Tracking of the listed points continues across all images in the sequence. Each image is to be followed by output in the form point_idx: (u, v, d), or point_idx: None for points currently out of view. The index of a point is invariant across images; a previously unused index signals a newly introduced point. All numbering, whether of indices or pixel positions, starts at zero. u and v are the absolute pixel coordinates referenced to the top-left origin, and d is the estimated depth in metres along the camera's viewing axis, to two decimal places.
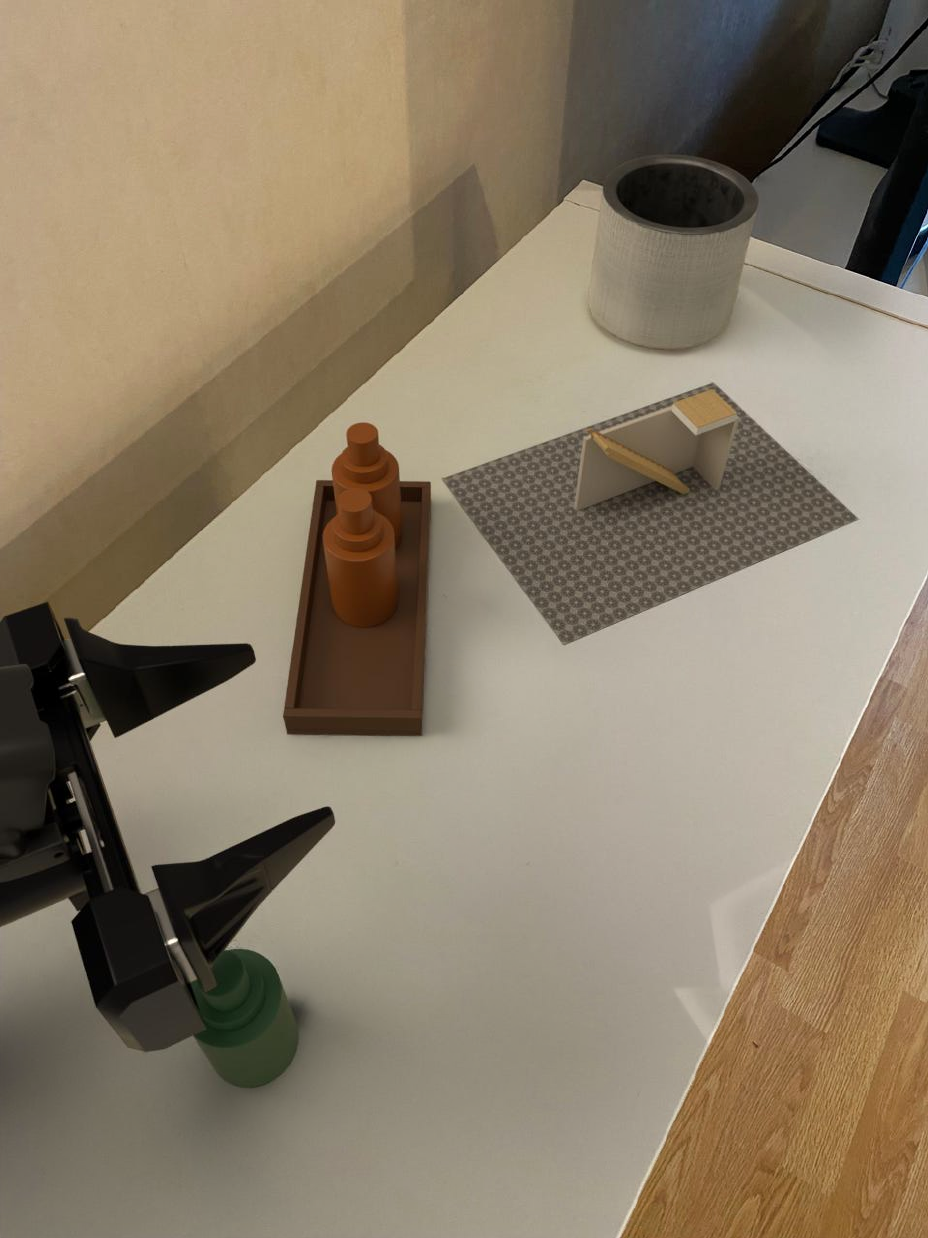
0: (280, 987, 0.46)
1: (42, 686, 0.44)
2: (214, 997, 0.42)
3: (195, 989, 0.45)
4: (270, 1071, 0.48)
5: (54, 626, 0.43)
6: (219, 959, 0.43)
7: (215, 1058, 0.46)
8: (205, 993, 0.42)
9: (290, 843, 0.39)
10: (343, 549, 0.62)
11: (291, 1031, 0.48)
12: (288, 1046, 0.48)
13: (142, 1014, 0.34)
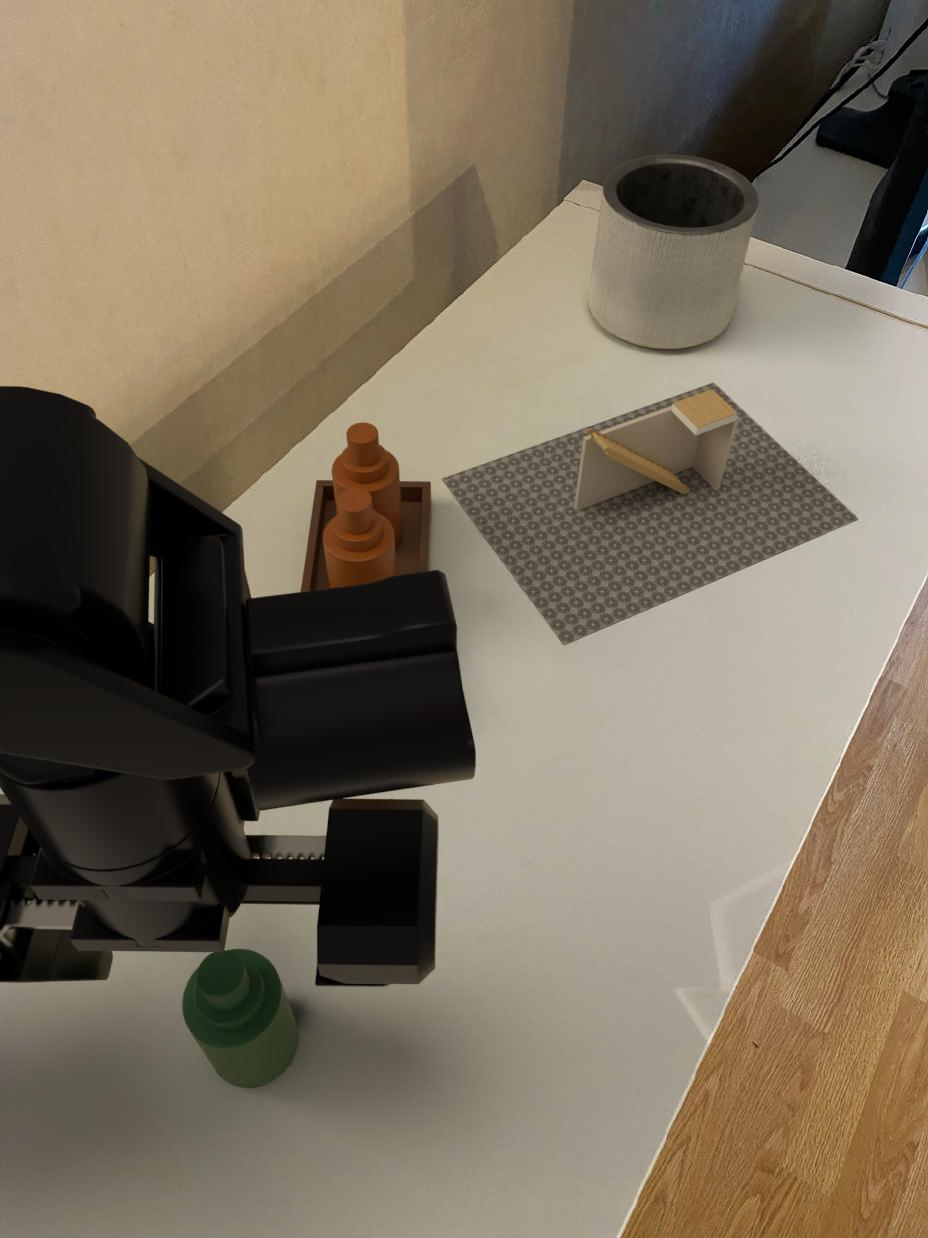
0: (280, 987, 0.46)
1: None
2: (214, 997, 0.42)
3: (195, 989, 0.45)
4: (270, 1071, 0.48)
5: None
6: (219, 959, 0.43)
7: (215, 1058, 0.46)
8: (205, 993, 0.42)
9: None
10: (343, 549, 0.62)
11: (291, 1031, 0.48)
12: (288, 1046, 0.48)
13: (437, 848, 0.37)
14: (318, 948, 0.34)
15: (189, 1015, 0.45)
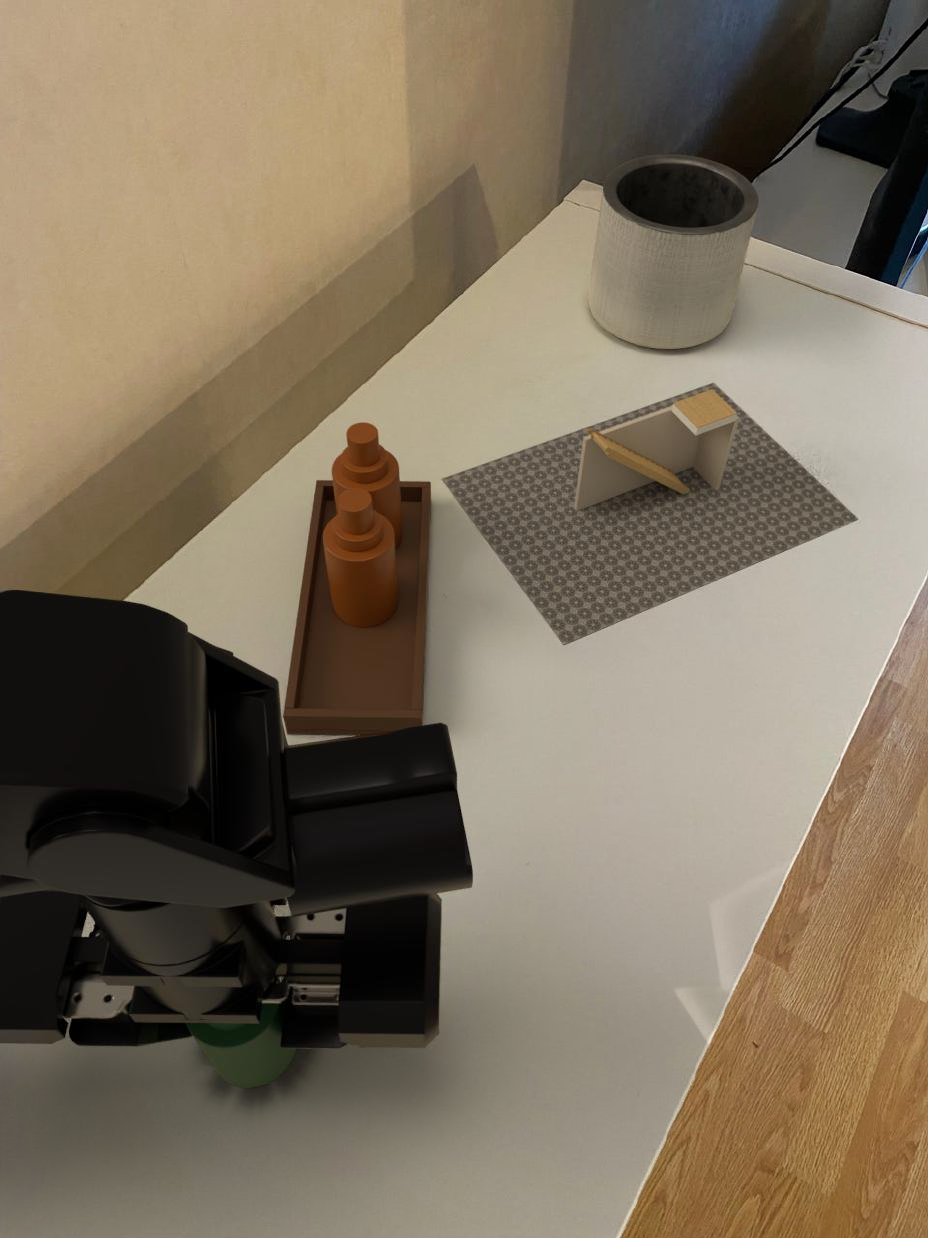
0: None
1: None
2: None
3: None
4: (269, 1071, 0.48)
5: None
6: None
7: (215, 1058, 0.46)
8: None
9: None
10: (343, 549, 0.62)
11: None
12: None
13: None
14: (339, 1020, 0.39)
15: None
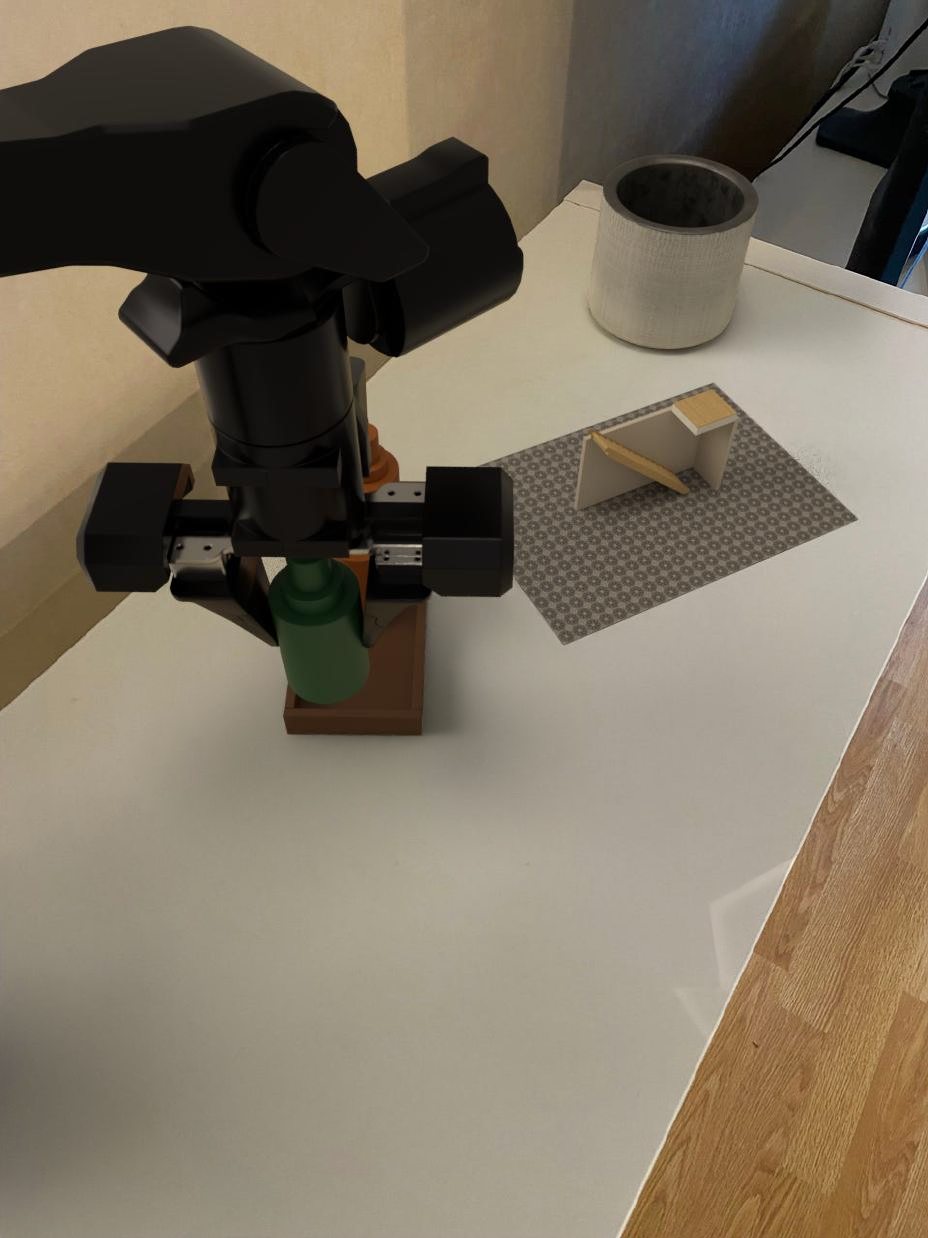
0: (358, 584, 0.49)
1: None
2: (301, 566, 0.46)
3: (281, 577, 0.48)
4: (345, 682, 0.51)
5: None
6: None
7: (298, 651, 0.49)
8: (293, 563, 0.46)
9: None
10: None
11: None
12: (362, 660, 0.52)
13: None
14: (423, 555, 0.43)
15: (275, 603, 0.48)
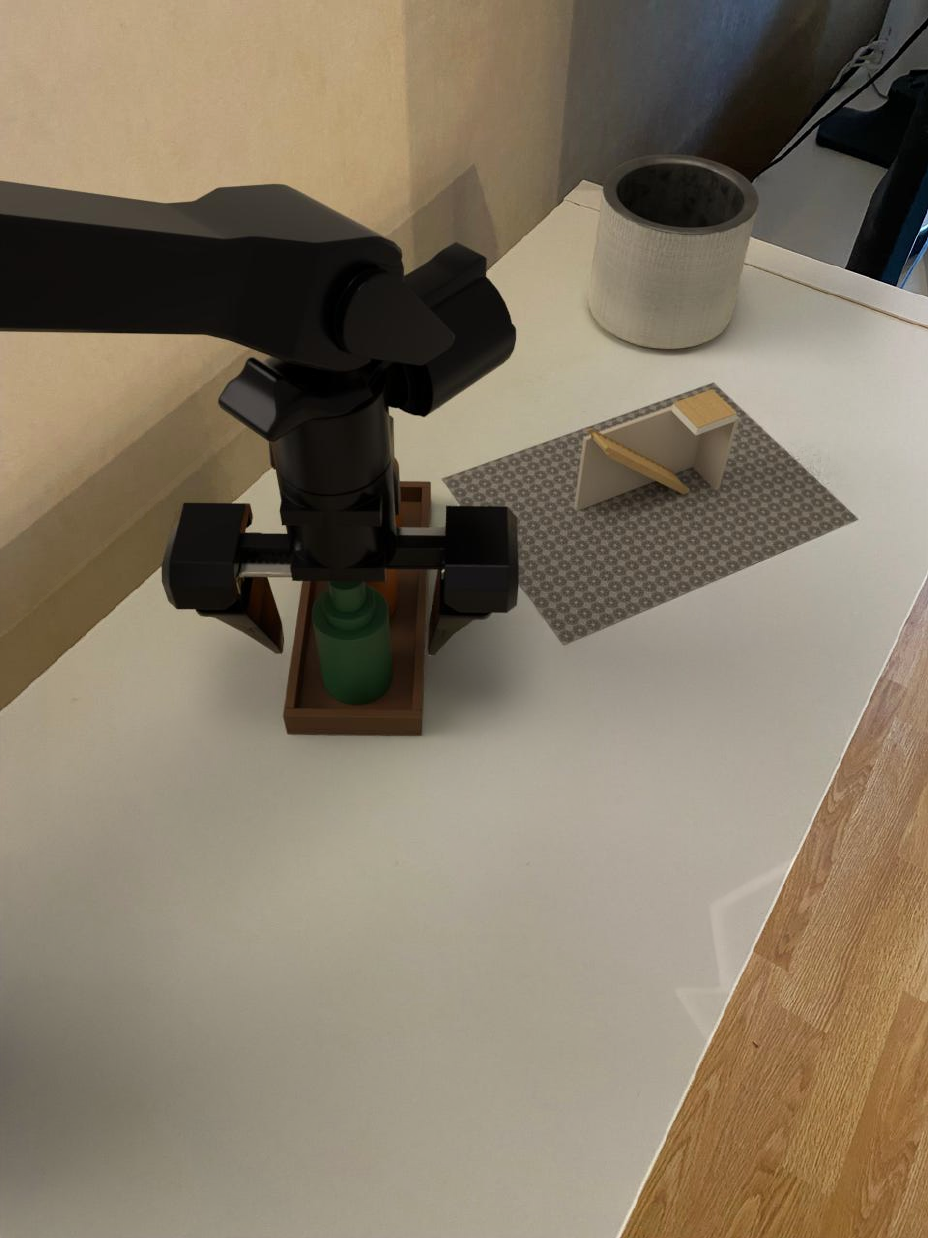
0: (387, 605, 0.59)
1: None
2: (342, 591, 0.56)
3: (323, 600, 0.58)
4: (374, 686, 0.61)
5: None
6: None
7: (336, 661, 0.59)
8: (335, 588, 0.56)
9: None
10: None
11: (390, 657, 0.62)
12: (388, 669, 0.62)
13: None
14: (445, 579, 0.53)
15: (318, 622, 0.58)
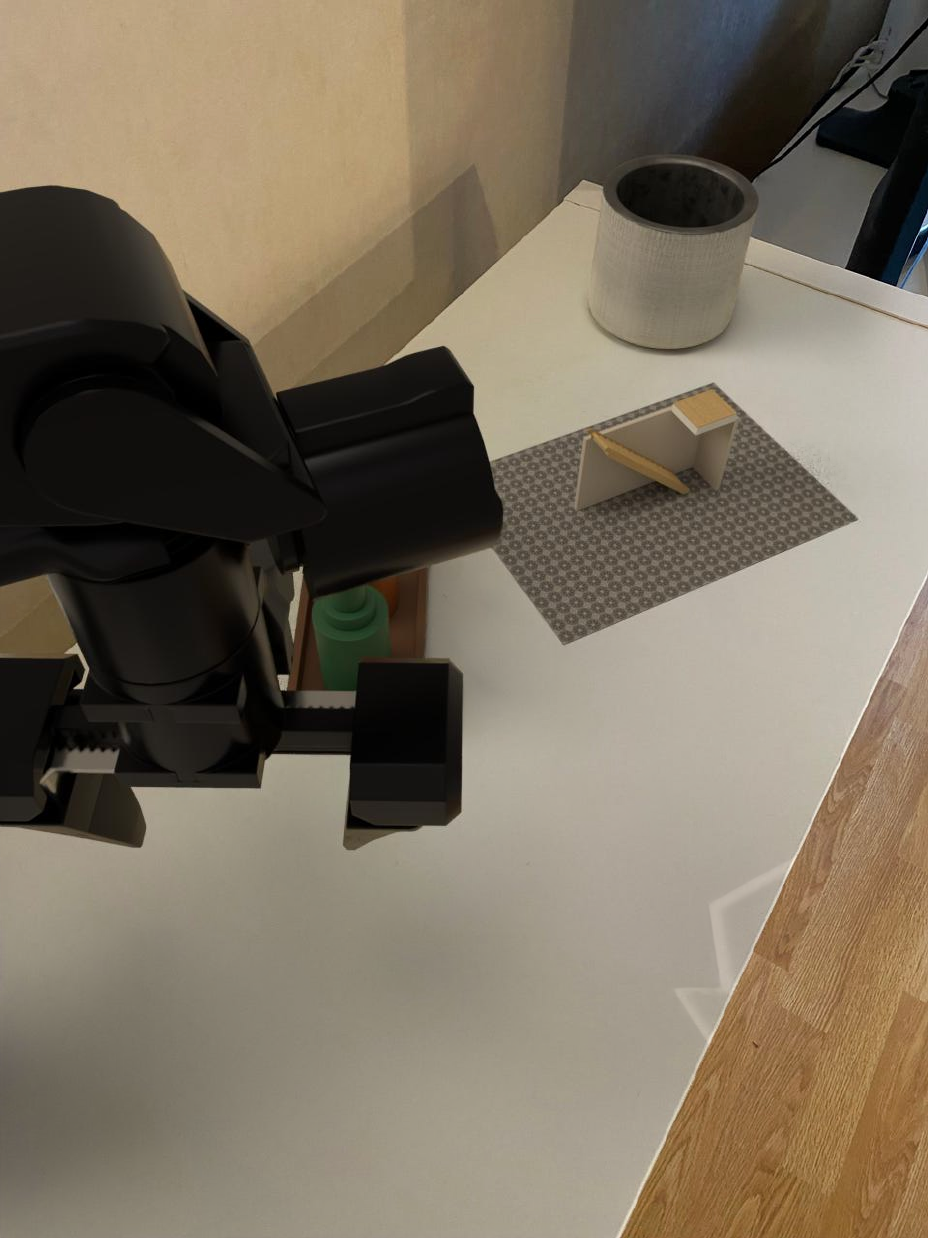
0: (387, 605, 0.59)
1: None
2: None
3: (323, 600, 0.58)
4: None
5: None
6: None
7: (336, 661, 0.59)
8: None
9: None
10: None
11: (390, 657, 0.62)
12: None
13: None
14: (351, 784, 0.35)
15: (318, 622, 0.58)
